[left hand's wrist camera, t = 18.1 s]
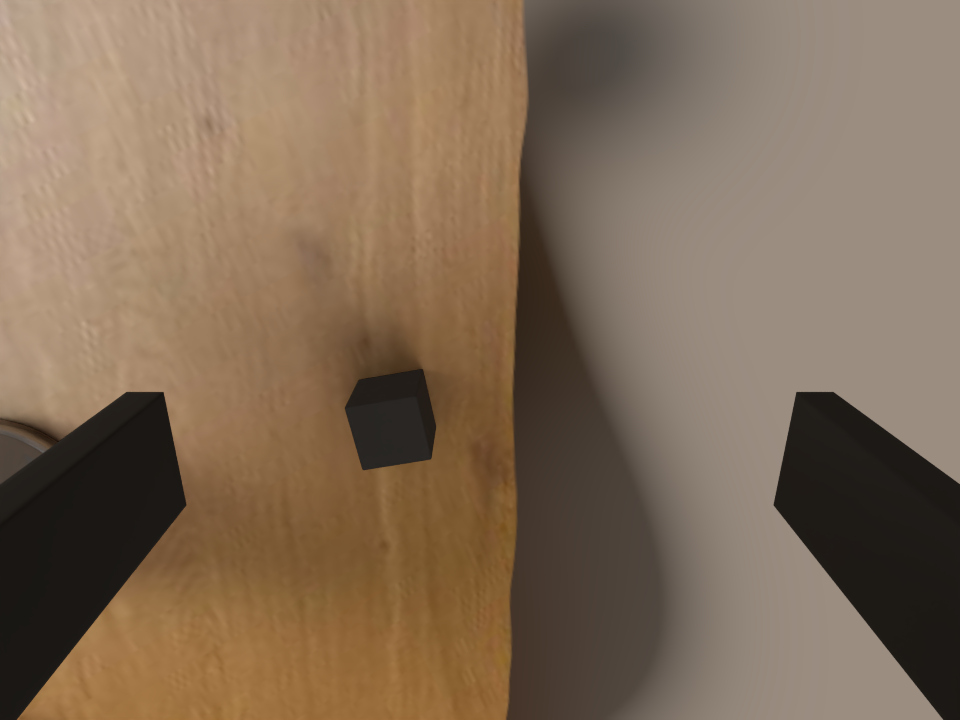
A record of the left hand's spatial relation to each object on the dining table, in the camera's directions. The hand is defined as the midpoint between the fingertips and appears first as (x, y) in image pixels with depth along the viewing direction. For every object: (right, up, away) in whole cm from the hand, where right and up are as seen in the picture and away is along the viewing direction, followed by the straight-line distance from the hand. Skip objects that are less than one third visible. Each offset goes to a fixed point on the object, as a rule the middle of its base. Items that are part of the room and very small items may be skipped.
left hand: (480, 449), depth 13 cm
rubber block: (-6, -1, +33) cm, 34 cm away
